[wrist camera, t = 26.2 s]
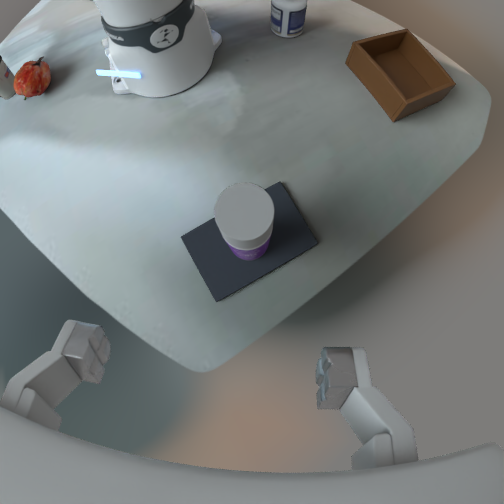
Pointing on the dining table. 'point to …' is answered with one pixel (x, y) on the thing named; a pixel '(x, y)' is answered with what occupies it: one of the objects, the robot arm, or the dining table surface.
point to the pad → (246, 271)
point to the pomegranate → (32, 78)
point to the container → (245, 219)
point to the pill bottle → (288, 17)
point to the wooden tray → (399, 72)
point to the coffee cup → (6, 81)
